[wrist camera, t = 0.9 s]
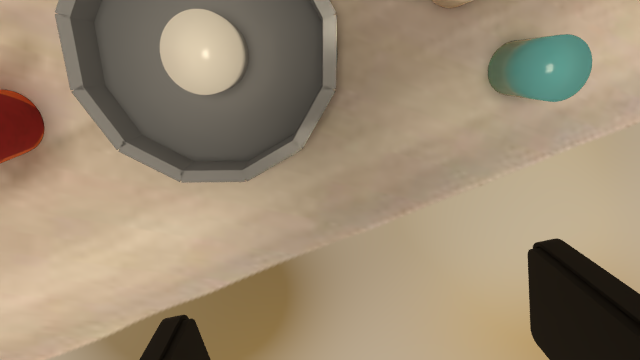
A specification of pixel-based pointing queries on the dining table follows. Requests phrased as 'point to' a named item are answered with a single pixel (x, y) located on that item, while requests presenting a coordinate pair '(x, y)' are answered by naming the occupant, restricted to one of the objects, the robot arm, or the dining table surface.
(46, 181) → the dining table surface
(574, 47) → the teal bead
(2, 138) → the paper cup
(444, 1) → the cream bead
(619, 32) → the dining table surface
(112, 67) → the ring dish
